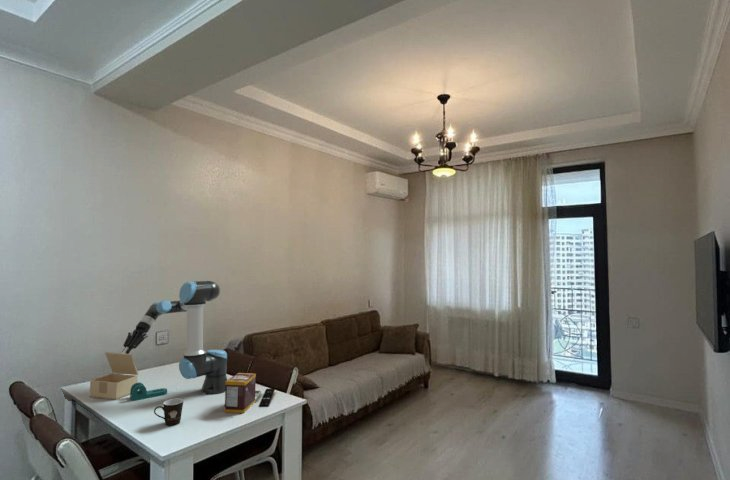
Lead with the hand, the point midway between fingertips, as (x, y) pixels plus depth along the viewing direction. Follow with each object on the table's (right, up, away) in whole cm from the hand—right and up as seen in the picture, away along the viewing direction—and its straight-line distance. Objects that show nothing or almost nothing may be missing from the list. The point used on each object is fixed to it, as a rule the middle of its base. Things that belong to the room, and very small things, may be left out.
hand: (121, 358), depth 224 cm
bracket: (+20, -20, -7) cm, 29 cm away
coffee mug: (+50, -18, -43) cm, 68 cm away
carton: (-1, -19, -5) cm, 20 cm away
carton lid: (0, -3, 0) cm, 3 cm away
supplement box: (+76, -19, -22) cm, 82 cm away
